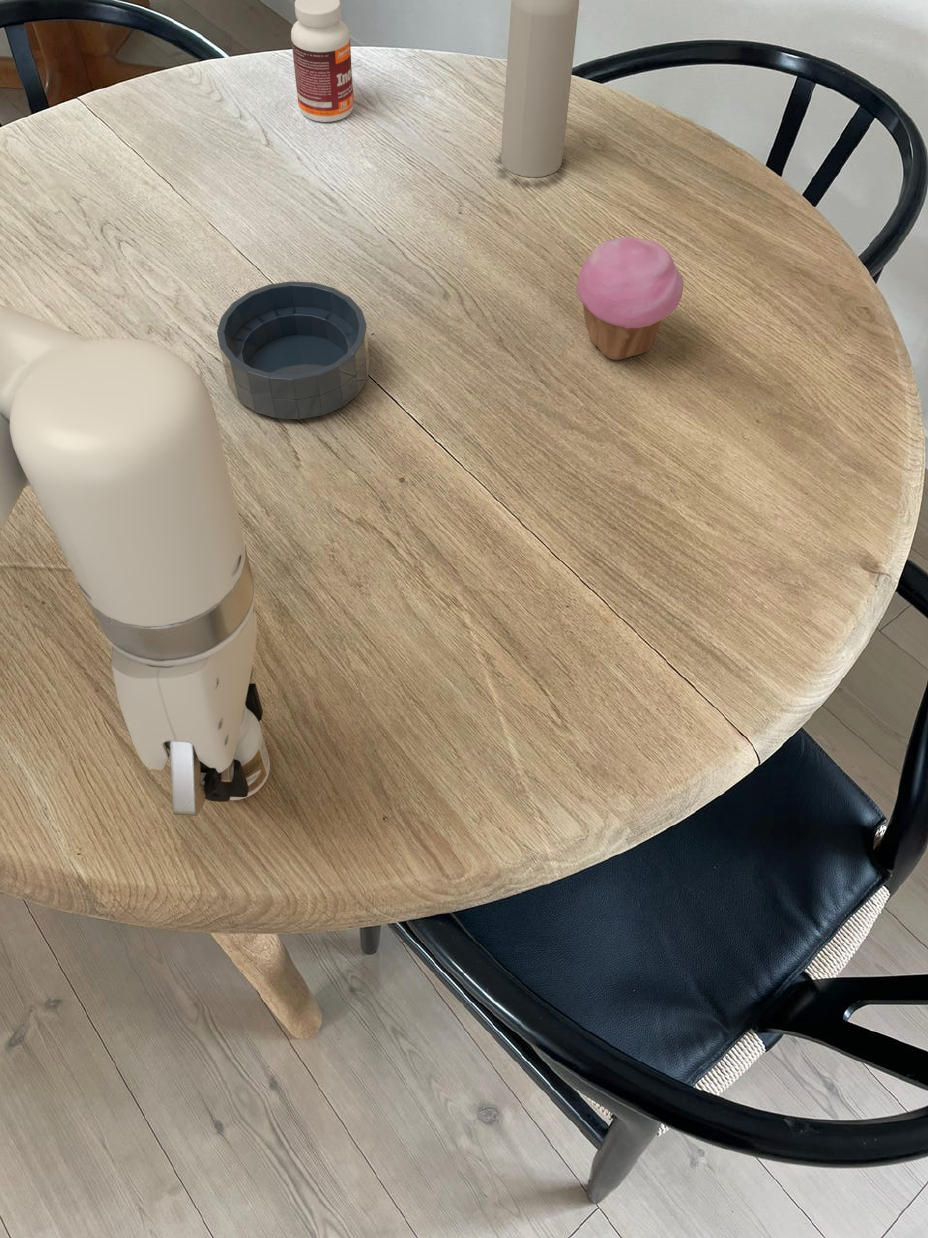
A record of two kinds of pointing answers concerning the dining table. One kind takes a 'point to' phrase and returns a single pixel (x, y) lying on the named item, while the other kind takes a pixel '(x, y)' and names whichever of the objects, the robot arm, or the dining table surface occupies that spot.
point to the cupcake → (627, 294)
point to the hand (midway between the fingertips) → (230, 752)
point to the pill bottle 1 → (252, 753)
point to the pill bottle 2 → (322, 60)
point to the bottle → (538, 85)
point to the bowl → (294, 349)
